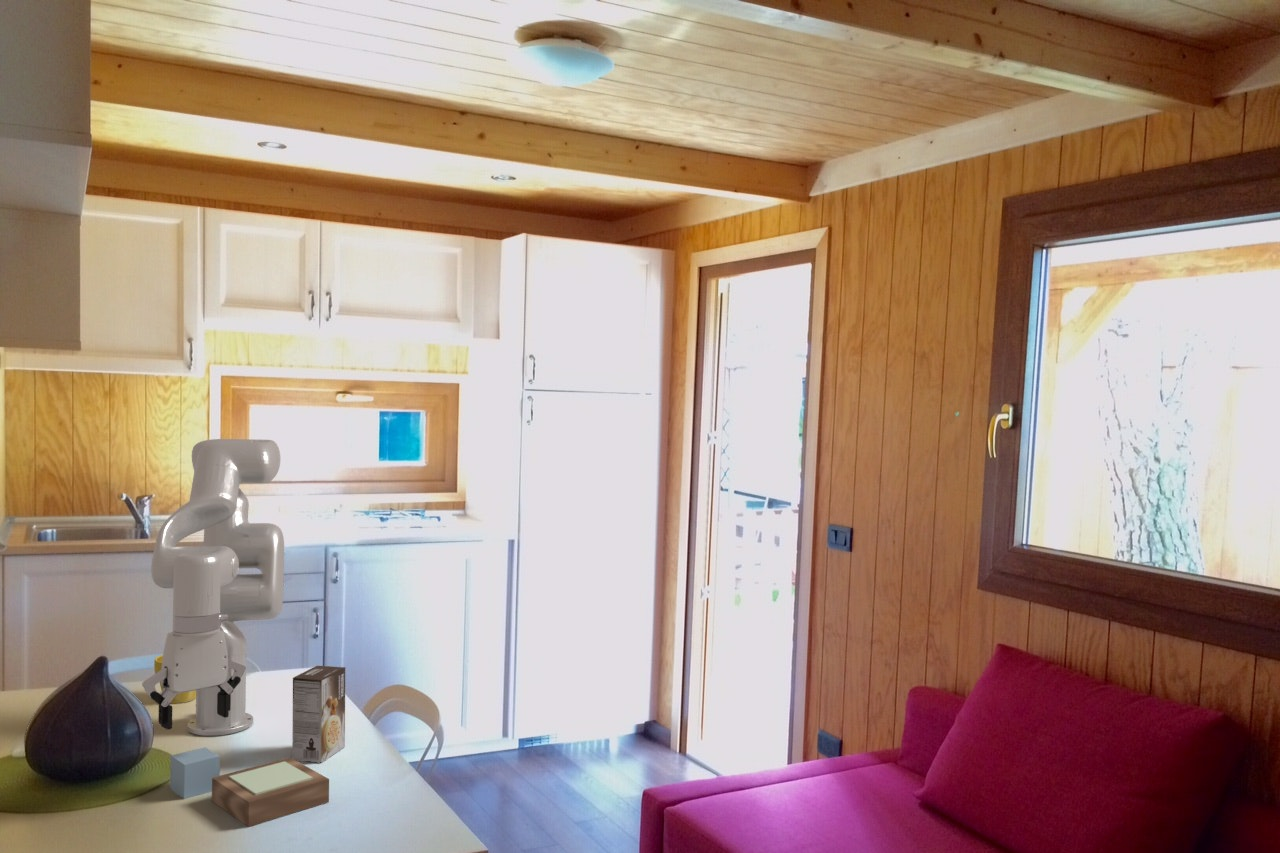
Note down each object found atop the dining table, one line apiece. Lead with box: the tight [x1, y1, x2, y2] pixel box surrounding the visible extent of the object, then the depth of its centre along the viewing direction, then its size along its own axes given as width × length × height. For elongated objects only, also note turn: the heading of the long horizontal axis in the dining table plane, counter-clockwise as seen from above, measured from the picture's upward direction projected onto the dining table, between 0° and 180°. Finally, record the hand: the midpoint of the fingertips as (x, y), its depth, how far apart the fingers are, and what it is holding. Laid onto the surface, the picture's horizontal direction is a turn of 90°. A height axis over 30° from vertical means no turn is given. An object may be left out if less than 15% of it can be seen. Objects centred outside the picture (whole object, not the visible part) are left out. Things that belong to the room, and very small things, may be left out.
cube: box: [169, 747, 221, 800], centre depth 171 cm, size 6×6×6 cm
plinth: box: [211, 756, 330, 828], centre depth 167 cm, size 14×14×4 cm
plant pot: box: [153, 654, 196, 705], centre depth 221 cm, size 10×10×10 cm
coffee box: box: [291, 665, 346, 763], centre depth 189 cm, size 9×6×16 cm
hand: (195, 721), depth 170 cm, fingers open, 9 cm apart
